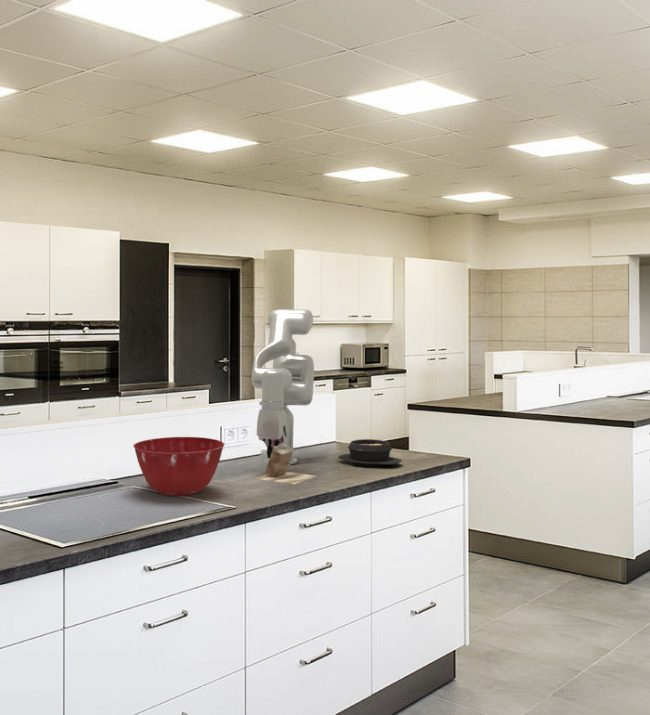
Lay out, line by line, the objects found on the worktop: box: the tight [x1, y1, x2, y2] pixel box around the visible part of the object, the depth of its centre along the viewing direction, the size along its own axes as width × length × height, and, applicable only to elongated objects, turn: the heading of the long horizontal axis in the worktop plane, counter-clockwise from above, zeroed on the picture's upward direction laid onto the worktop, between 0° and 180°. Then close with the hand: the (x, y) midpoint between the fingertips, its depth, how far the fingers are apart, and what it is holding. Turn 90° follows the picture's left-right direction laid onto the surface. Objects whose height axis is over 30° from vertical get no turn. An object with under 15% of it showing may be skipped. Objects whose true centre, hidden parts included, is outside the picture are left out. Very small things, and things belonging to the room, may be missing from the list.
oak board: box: [254, 471, 318, 485], centre depth 285 cm, size 16×16×1 cm
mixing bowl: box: [132, 436, 225, 497], centre depth 262 cm, size 28×28×15 cm
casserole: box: [338, 438, 402, 467], centre depth 315 cm, size 25×19×8 cm
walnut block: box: [264, 444, 294, 478], centre depth 286 cm, size 4×7×10 cm, turn 151°
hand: (271, 457), depth 287 cm, fingers closed
